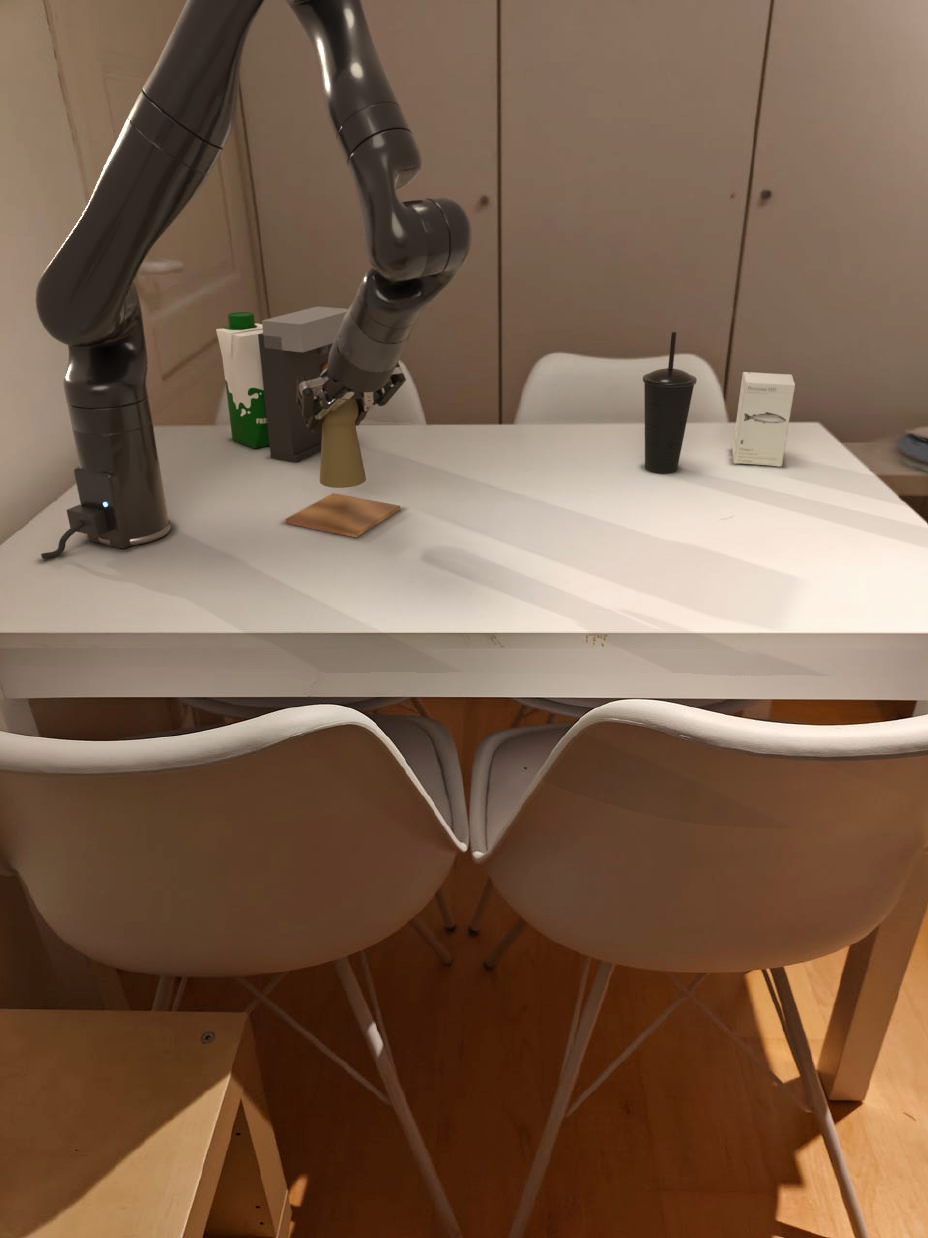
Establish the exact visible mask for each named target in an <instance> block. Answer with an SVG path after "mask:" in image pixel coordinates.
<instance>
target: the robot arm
mask: <svg viewBox="0 0 928 1238" xmlns="http://www.w3.org/2000/svg"><path fill="white" fill-rule="evenodd" d="M265 1H266V0H186V1H185V3H184V6H183V7H182V10H181V12H180V14H179V16H178V18H177V21H176V22H175V24H174V27H173V28H172V31H171V32H170V35H169V37H168V39H167V41H166V43H165V46H164V47H163V49H162V52H161V53H160V56H159V58H158V60H157V62H156V64H155V66H154V68H153V69H152V71H151V73H149V76H148V78H147V79H146V82H145V83H144V84H143V86H142V89H141V91H140V92H139V94H138V96H137V98H136V101H135V102H134V103H133V106H132V108H131V110H130V112H129V114H128V116H127V118H126V120H125V122H124V124H123V126H122V128H121V131H120V132H119V135H118V137H117V138H116V141H115V143H114V146H113V147H112V149H111V151H110V154H109V155H108V158H107V160H106V162H105V165H104V166H103V169H102V171H101V173H100V176H99V178H98V180H97V182H96V184H95V187H94V189H93V192H92V194H91V196H90V198H89V201H88V202H87V205H86V206H85V209H84V211H83V212H82V214H81V216H80V217H79V219H78V221H77V222H76V224H75V226H74V227H73V229H71V232H70V233H69V235H68V236H67V238H66V239H65V240H64V242H63V243H62V244H61V246H60V248H59V249H58V251H57V252H56V254H55V255H54V256H53V258H52V260H51V261H50V262H49V263H48V265H47V266H46V267H45V269H44V271H43V272H42V274H41V276H40V277H39V279H38V282H37V285H36V288H35V289H36V290H35V308H36V313H37V316H38V319H39V321H40V323H41V324H42V327H43V328H44V330H46V332H47V334H49V335H50V336H51V337H52V338H53V339H55V340H56V341H58V342H60V343H61V344H63V345H67V350H68V361H67V368H66V371H65V374H64V378H63V391H64V395H65V400H66V405H67V410H68V414H69V419H70V425H71V430H72V434H73V438H74V444H75V449H76V455H77V457H78V458H77V459H78V464H79V465H78V466H75V468H74V469H73V474H74V479H75V484H76V488H77V493H78V494H77V495H78V496H79V498H78V499H79V502H80V504H77V505H74V506H72V507H70V508H67V509H66V514H67V519H68V523H69V529H67V530H66V531H65V532H64V534H63V535H62V536H61V537H60V538H59V542H58V548H56V549H55V550H53V551H48V552H43V553H41V554H40V556H41V559H42V560H46V559H53V558H56V557H59V556H60V555H62V553H64V551H65V549H66V543H67V541H68V540H69V538H70V537H71V536H73V534H75V533H76V532H77V533H81V534H85V535H86V536H87V540H88V542H92V543H97V544H102V545H106V546H110V547H114V548H118V549H123V550H124V549H127V548H128V547H131V546H137V545H143V544H146V543H151V542H153V541H157V540H158V539H161V538H163V537H164V536H166V535H168V533H169V532H170V531H171V529H172V528H171V521H170V518H169V514H168V513H169V512H168V509H167V501H166V496H165V490H164V483H163V477H162V472H161V466H160V459H159V453H158V447H157V441H156V435H155V429H154V424H153V417H152V410H151V404H150V403H151V402H150V398H149V393H148V392H149V391H148V385H147V379H148V370H149V361H148V351H147V342H146V334H145V327H144V320H143V312H142V306H141V301H140V296H139V292H138V290H137V286H136V284H135V282H134V281H135V278H136V276H137V275H138V272H139V271H140V268H141V266H142V264H143V263H144V261H145V259H146V257H147V256H148V254H149V253H150V251H151V249H152V248H153V247H154V245H155V244H156V243H157V241H158V240H159V239H160V238H161V237H162V236H163V235H164V233H165V232H166V231H167V230H168V229H169V228H170V227H171V225H172V224H173V223H174V222H175V221H176V220H177V218H178V217H179V216H180V215H181V214H182V213H183V211H184V210H185V209H186V208H187V206H188V205H189V204H190V202H191V201H192V200H193V199H194V197H195V196H196V195H197V194H198V193H199V191H200V190H201V188H202V186H203V185H204V184H205V182H206V181H207V179H208V177H209V175H210V174H211V172H212V170H213V168H214V167H215V165H216V163H217V161H218V160H219V158H220V156H221V154H222V152H223V151H224V148H225V147H226V145H227V144H228V141H229V140H230V136H231V134H232V132H233V129H234V124H235V121H236V115H237V107H238V101H239V99H238V98H239V89H240V87H239V86H240V75H241V64H242V59H243V53H244V48H245V44H246V41H247V38H248V36H249V33H250V30H251V29H252V26H253V23H254V22H255V20H256V19H257V16H258V14H259V12H260V11H261V9H262V7H263V5H264V3H265ZM284 1H285V2H286V4H287V5H288V7H289V8H290V10H291V11H292V13H293V15H294V16H295V18H296V19H297V21H298V22H299V24H300V26H301V27H302V29H303V31H304V32H305V33H306V36H307V38H308V40H309V43H310V44H311V45H312V49H313V51H314V54H315V57H316V60H317V63H318V67H319V72H320V78H321V89H322V96H323V103H324V108H325V111H326V115H327V119H328V121H329V124H330V127H331V130H332V132H333V135H334V137H335V139H336V141H337V144H338V147H339V149H340V150H341V154H342V156H343V158H344V161H345V163H346V166H347V167H348V170H349V172H350V174H351V176H352V180H353V184H354V189H355V195H356V201H357V205H358V206H357V207H358V212H359V218H360V223H361V233H362V240H363V247H364V251H365V255H366V257H367V259H368V261H369V263H370V265H371V266H370V268H368V270H367V271H366V272H365V273H364V276H363V277H362V279H361V281H360V284H359V286H358V288H357V291H356V293H355V296H354V298H353V301H352V302H351V304H350V306H349V307H348V308H347V309H348V310H347V312H346V314H345V316H344V318H343V320H342V323H341V325H340V328H339V330H338V333H337V335H336V337H335V340H334V342H333V345H332V347H331V350H330V352H329V358H328V366H327V368H326V369H325V370H324V371H323V372H322V373H321V375H320V378H316V379H312V380H308V379H307V377H306V376H305V375H303V376H300V377H298V378H297V392H296V402H297V404H298V406H299V408H300V410H301V413H302V416H303V418H304V419H305V422H306V425H307V427H308V429H309V430H311V432H312V433H318V432H319V430H320V428H321V425H322V423H323V421H324V419H325V418H324V417H325V416H326V415H327V414H328V413H329V412H330V411H335V410H336V409H337V408H338V407H339V406H340V405H341V404H342V403H343V402H344V401H346V400H349V399H355V401H356V402H357V405H358V411H359V412H358V417H357V419H356V420H355V426H356V427H357V426H360V424H361V422H362V421H364V420H365V418H366V416H367V414H368V412H370V411H372V410H373V409H374V406H375V405H377V406H378V407H384V406H386V405H387V404H388V403H389V401H390V400H391V399H392V398H393V396H395V394H396V393H398V391H399V389H400V388H401V387H402V386H403V384H404V383H405V382H406V381H407V378H406V376H405V374H404V371H403V370H402V367H401V365H400V362H399V361H400V359H401V358H402V356H403V354H404V352H405V351H406V349H407V346H408V343H409V340H410V337H411V334H412V332H413V330H414V328H415V326H416V324H417V323H418V320H419V318H420V316H421V314H422V312H423V310H424V309H425V308H426V307H427V306H428V305H430V304H431V303H433V301H434V300H435V299H437V297H438V296H439V295H440V294H441V293H442V292H443V291H444V289H445V288H447V286H448V285H449V284H450V283H451V282H452V281H453V280H454V279H455V278H456V277H457V275H458V274H459V273H460V271H462V269H463V267H464V265H465V263H466V261H467V259H468V256H469V254H470V250H471V245H472V226H471V222H470V218H469V216H468V213H467V212H466V210H465V209H464V207H462V205H461V204H460V203H459V202H457V201H456V200H454V199H452V198H449V197H445V196H432V197H427V198H420V199H412V200H408V201H401V200H400V198H399V196H398V194H397V192H398V191H400V190H402V189H404V188H405V187H407V186H409V185H410V184H411V183H412V182H413V181H414V180H415V179H416V178H417V177H418V175H419V173H420V171H421V169H422V162H423V161H422V154H421V152H420V149H419V146H418V143H417V141H416V139H415V136H414V134H413V131H412V129H411V127H410V124H409V122H408V120H407V117H406V115H405V113H404V110H403V108H402V105H401V103H400V101H399V99H398V97H397V95H396V92H395V90H394V87H393V85H392V83H391V81H390V77H388V73H387V72H386V69H385V67H384V64H383V62H382V59H381V56H380V54H379V52H378V49H377V47H376V43H375V41H374V37H373V36H372V32H371V29H370V27H369V23H368V20H367V17H366V14H365V10H364V7H363V3H362V0H284ZM320 401H322V403H323V406H322V407H321V404H320Z"/></svg>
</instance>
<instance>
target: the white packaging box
mask: <svg viewBox="0 0 928 1238" xmlns="http://www.w3.org/2000/svg"><path fill="white" fill-rule="evenodd" d="M741 376H742V377H741V384H740V389H739V390H740V391H739V398H738V407H737V412H736V420H735V427H734V435H733V443H732V449H731V450H732V463H733V464H734V465H736V464H744V465H745V464H746V465H757V466H761V465H762V466H770V467H771V466H772V467H782V466H783V464H784V463H783V462H784V456H785V452H786V451H785V450H786V443H787V437H788V431H789V425H790V419H791V413H792V408H793V407H792V406H793V402H794V394H795V389H796V388H795V387H796V383H795V380H794V376H793V374H790V373H789V374H787V373H786V374H785V373H770V372H753V371H750V372H749V371H743V372H742V375H741Z"/></svg>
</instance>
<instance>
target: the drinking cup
mask: <svg viewBox="0 0 928 1238" xmlns="http://www.w3.org/2000/svg"><path fill="white" fill-rule="evenodd" d="M676 339H677V332H676V331H672V332H671V335H670V346H669V356H668V366H667V368H666V367H665V368H660V369H656V370H653V371H651V372H649V373H646V374H644V375H643V376H642V382H643V383H644V387H643V388H644V390H643V391H644V469H645V470H646V471H649V472H651V473H656V474H671V473H675V472H676V471H677V470H678V467H679V462H680V457H681V452H682V447H683V442H684V438H685V431H686V428H687V422H688V418H689V412H690V408H691V407H690V406H691V402H692V397H693V393H694V388H695V387H694V386H695V385H696V384H697V380H698V379H697V377H696V376H694V375H692V374H689V372H686V371H684V370H682V369H678V368H674V362H675V351H676V344H677V343H676V342H677V340H676Z"/></svg>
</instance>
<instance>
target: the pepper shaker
mask: <svg viewBox="0 0 928 1238" xmlns="http://www.w3.org/2000/svg"><path fill="white" fill-rule="evenodd" d="M320 404H321V407H322V406H323V403H322V401H320ZM358 412H359V411H358V405H357V402H356V401H355V399H349V400H346V401H344V402H343V403H342V404H341V405H340V406H339V407H338V408H337V409H336V410H335V411H330V412H329V413H328V414H327V415H326V416H325V417H324V418H325V419H324V421H323V423H322V444H321V451H320V467H319V469H320V470H319V472H320V473H319V483H320V485H322V486H323V487H328V488H333V489H346V488H353V487H358V486H360V485H362V484H364V483H365V482H366V481H367V476H366V471H365V466H364V461H363V456H362V451H361V446H360V442H359V436H358V431H357V426H355V420H356V419H357V417H358Z"/></svg>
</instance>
